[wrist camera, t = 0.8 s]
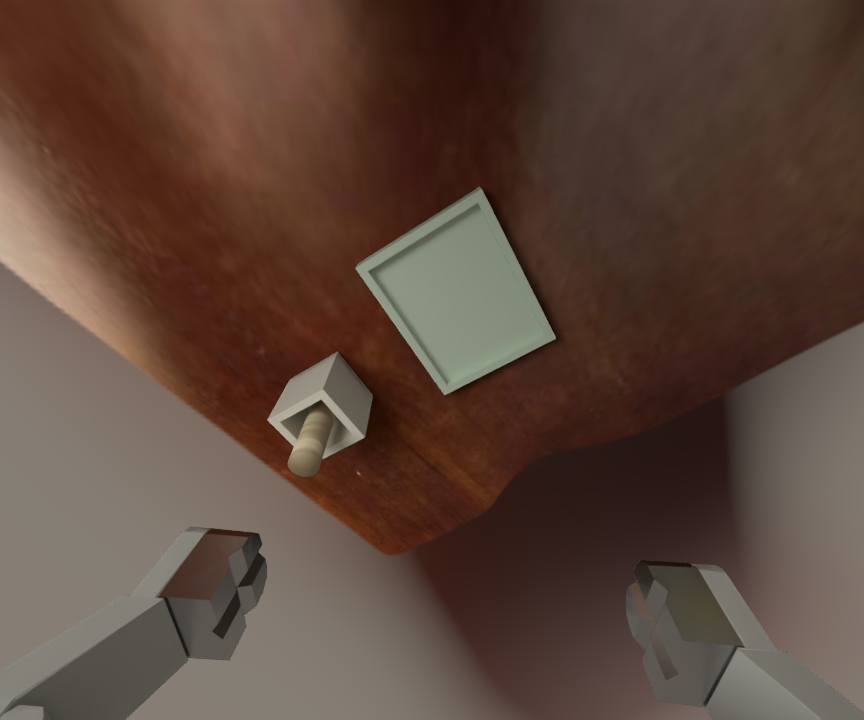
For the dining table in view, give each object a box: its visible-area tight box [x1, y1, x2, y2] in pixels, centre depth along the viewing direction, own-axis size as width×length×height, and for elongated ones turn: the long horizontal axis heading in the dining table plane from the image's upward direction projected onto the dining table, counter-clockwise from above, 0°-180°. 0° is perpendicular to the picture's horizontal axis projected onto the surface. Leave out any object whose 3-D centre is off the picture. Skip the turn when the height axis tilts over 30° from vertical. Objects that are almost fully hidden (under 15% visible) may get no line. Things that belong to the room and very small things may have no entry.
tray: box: [355, 187, 556, 395], centre depth 48 cm, size 20×16×2 cm
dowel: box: [288, 400, 336, 477], centre depth 48 cm, size 3×3×14 cm
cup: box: [268, 352, 373, 459], centre depth 51 cm, size 8×8×9 cm
